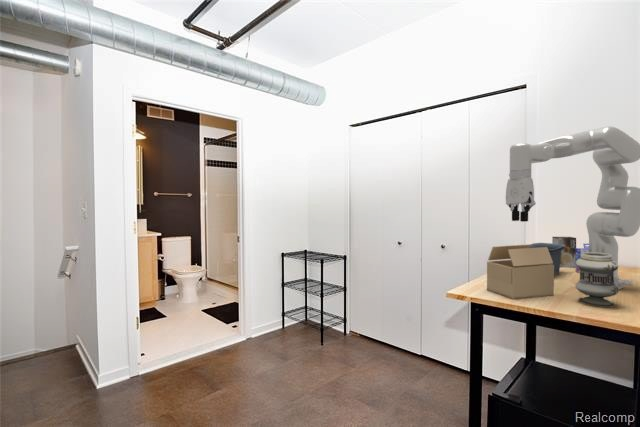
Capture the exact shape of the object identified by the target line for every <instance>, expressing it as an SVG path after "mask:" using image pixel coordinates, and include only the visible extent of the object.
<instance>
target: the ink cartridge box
mask: <svg viewBox="0 0 640 427" xmlns="http://www.w3.org/2000/svg"><path fill="white" fill-rule="evenodd" d="M582 244H583V247H580V248H577V247H576V248H575V250H576V261H577V260H578V259H580V258H581V255H582V253H586V252H589V243H582ZM575 272H576V273H578V274H580V268H579V267H577V265H576V267H575Z"/></svg>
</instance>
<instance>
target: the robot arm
mask: <svg viewBox="0 0 640 427" xmlns="http://www.w3.org/2000/svg"><path fill="white" fill-rule="evenodd" d="M588 152H592V160H593V161H594V163H595V165H597V167H598V168H599V170H600V173H601V182H600V185H599V189H598V195H597V197H596V203H597V204H596V205H597V206H598V207H599V208H601V209H602V210H611V212H609V211H607V212H606V211H598V212H595V213H592V214H590V215H589V216H588V217H587V219H586V230H587V233H588V244H589V245H588V246H589V252H595V253H606V254H611V255H612V259H613V261H615V262H616V263H617V264H618V265H619V244H618V241H617V239H616V237H622V238H626V237H627V238H629V237H632V236H633V237H634V236H635V235H636V234H637V233H638V231H639V229H640V187H637V186H628V183H629V173H628V171H627V169H626V168H625V167H624V166H623V165H624V164H630V163H631V164H632V163H635V162H638V161H639V160H640V143H639V141H637V140H636V139H634V138H633V137H631V136H630V135H629V134H627V133H626V132H624V131H623V130H621V129H619V128H617V127H615V126H604V127H600V128H594V129H590V130H589V129H588V130H586V131H585V130H584V131H580V132H577V133H572V134H568V135H564V136H559V137H555V138H554V139H550V140H545V141H543V142H538V143H516V144H513V145H510V147H509V174H508V177H509V179H507V184H506V187H505V188H506V189H505V205H507V206H508V207H509V208H510V212H511V221H512V222H518V221H520V222H522V223H523V222H529V212H530V211H531V208H532V207H534V206H536V201H535V186H534V180H533V177H532V164H537V163H538V164H540V163H545V162H548V161H550V160H552V159H562V158H568V157H572V156H575V155H579V154H584V153H588ZM519 206H521V211H520V210H519ZM615 210H616V211H619V212H612V211H615ZM618 269H619V268H618ZM618 269H617V270H615V271H614V284H615V285H616V286H617V287H618V289H619V290H622V289H623V286H627V287H632V286H633V281H632V280H627V279H621V278H620V276H619V275H618V273H619V271H618Z"/></svg>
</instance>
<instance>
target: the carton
mask: <svg viewBox="0 0 640 427" xmlns="http://www.w3.org/2000/svg"><path fill="white" fill-rule="evenodd" d="M486 291H489V292H492V293H494V294H498V295H500V296H503V297H505V298H508V299H511V300H522V299H530V298H537V297H538V298H539V297H541V298H542V297H549V296H550V297H551V296H554V295H555V274H554V265H552V264H538V265H525V266H513V264H512V261H511V259H502V260H487V261H486Z"/></svg>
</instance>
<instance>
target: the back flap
mask: <svg viewBox="0 0 640 427" xmlns="http://www.w3.org/2000/svg"><path fill="white" fill-rule="evenodd" d="M529 247H530V244H515V245H514V244H511V245H497V246H492V248H491V250H490V253H489V256H488V259H487V261H501V260H511V258H510V255H509V252H508V249H523V248H529Z"/></svg>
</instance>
